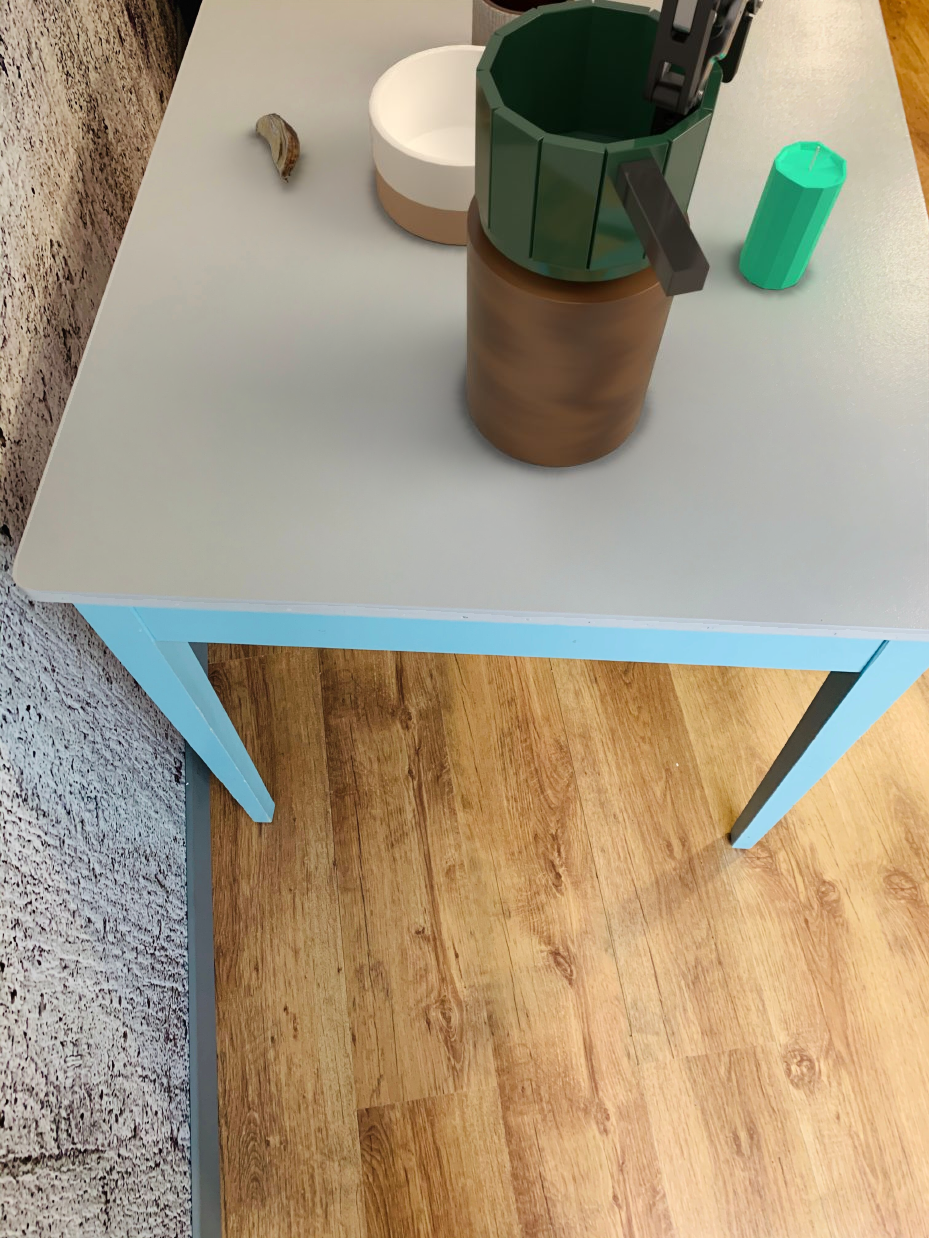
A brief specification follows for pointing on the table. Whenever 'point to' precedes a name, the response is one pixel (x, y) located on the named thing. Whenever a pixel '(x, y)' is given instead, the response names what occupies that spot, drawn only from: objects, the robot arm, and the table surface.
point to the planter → (499, 15)
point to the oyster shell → (280, 142)
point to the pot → (586, 148)
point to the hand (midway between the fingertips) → (691, 115)
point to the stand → (557, 355)
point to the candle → (791, 214)
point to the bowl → (427, 141)
